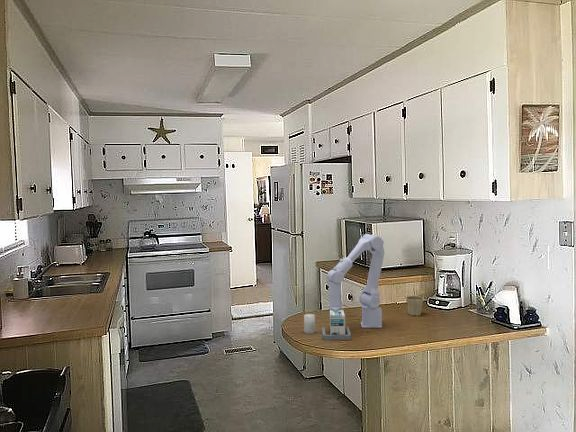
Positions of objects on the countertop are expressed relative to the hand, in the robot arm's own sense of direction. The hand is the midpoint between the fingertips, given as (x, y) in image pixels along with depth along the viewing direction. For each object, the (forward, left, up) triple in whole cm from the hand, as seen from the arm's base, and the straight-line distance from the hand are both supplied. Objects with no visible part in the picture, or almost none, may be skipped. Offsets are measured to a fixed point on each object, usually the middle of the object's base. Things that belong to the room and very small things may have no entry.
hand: (335, 324), depth 237 cm
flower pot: (-43, -28, -3) cm, 51 cm away
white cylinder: (+12, +2, -3) cm, 12 cm away
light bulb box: (-1, +7, -3) cm, 8 cm away
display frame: (0, +7, -3) cm, 8 cm away
